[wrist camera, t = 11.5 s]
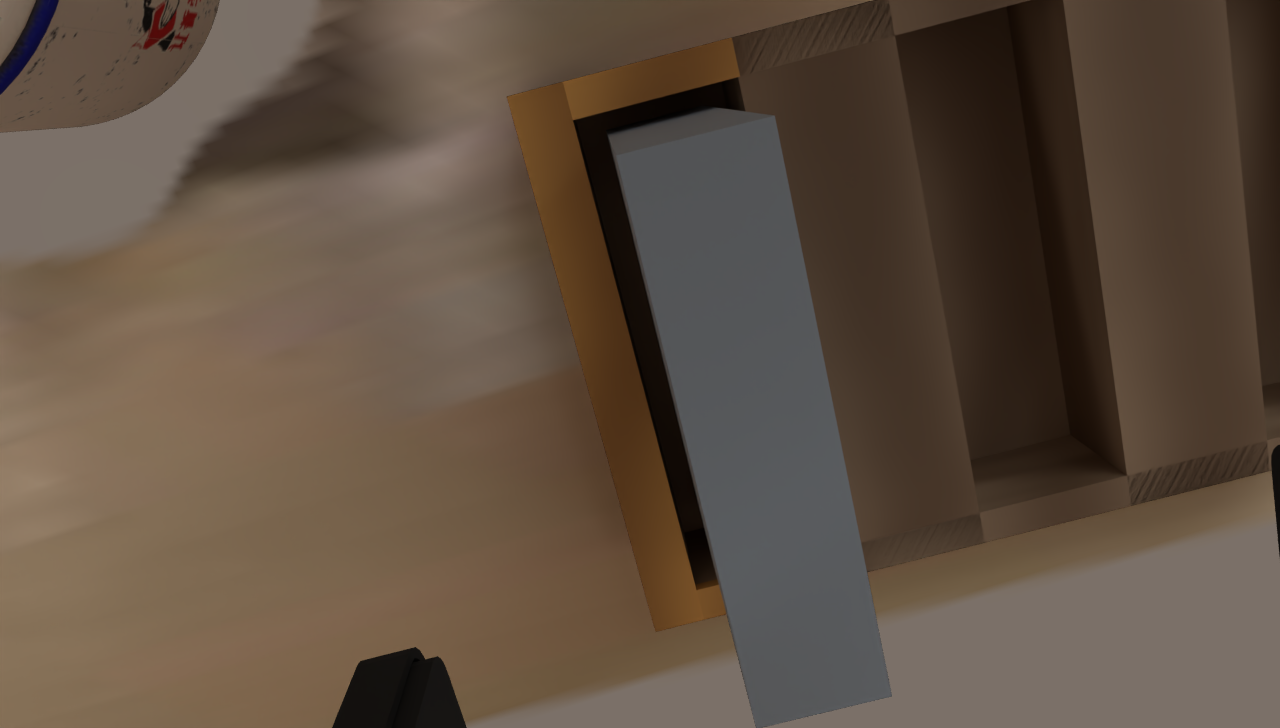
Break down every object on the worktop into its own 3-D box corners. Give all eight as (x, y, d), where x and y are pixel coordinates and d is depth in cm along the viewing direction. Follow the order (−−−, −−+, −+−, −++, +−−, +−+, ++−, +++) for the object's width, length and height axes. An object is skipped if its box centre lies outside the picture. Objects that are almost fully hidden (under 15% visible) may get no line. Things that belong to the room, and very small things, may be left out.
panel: (697, 503, 27) (756, 728, 18) (605, 129, 25) (616, 155, 15) (785, 482, 27) (892, 696, 18) (702, 105, 25) (775, 115, 15)
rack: (645, 546, 29) (655, 632, 25) (521, 95, 26) (506, 96, 21) (1335, 371, 29) (1478, 425, 24) (1300, -110, 26) (1457, -153, 21)
